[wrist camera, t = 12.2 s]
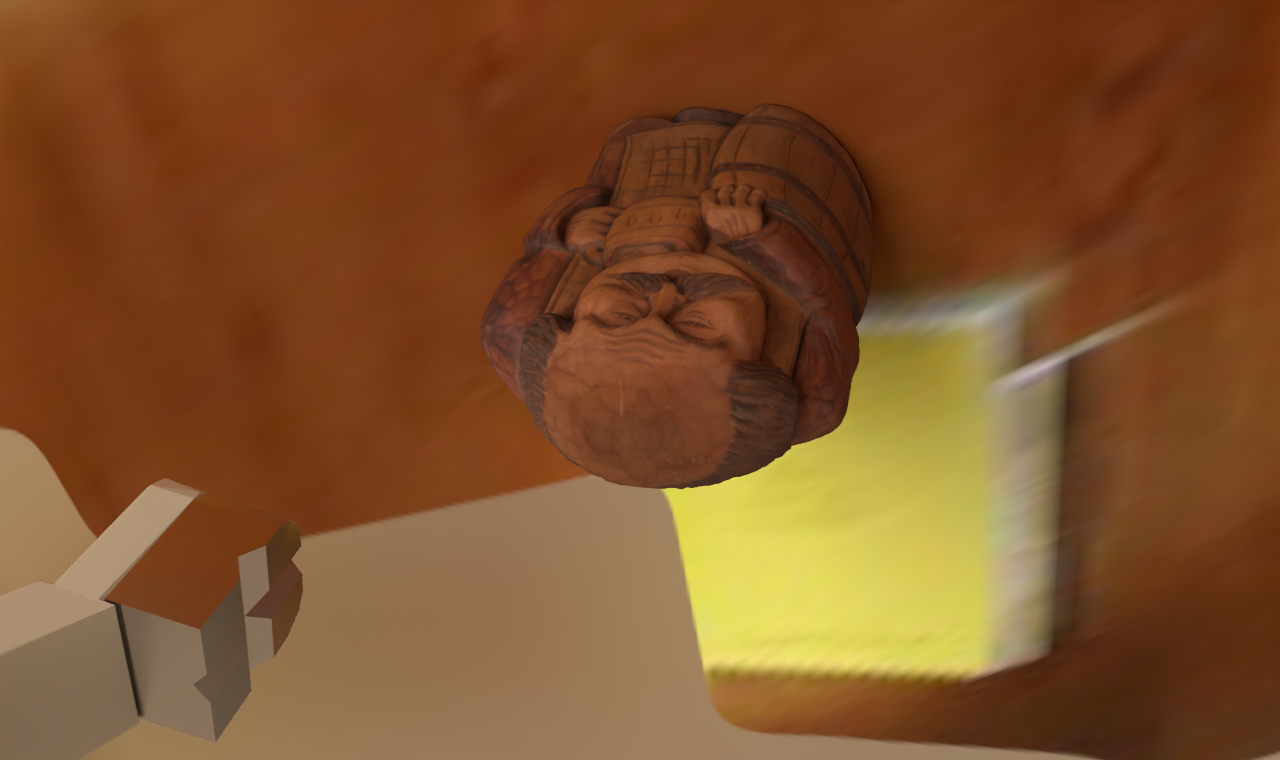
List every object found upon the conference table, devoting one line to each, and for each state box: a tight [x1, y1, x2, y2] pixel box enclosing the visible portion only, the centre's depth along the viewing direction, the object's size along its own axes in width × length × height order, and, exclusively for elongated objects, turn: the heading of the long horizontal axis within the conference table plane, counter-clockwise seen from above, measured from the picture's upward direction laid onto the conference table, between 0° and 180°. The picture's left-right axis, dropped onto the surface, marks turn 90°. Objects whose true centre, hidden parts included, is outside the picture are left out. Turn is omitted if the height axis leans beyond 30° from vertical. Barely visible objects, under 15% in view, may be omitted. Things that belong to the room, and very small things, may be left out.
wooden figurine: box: [480, 104, 873, 489], centre depth 36 cm, size 12×6×18 cm, turn 96°
